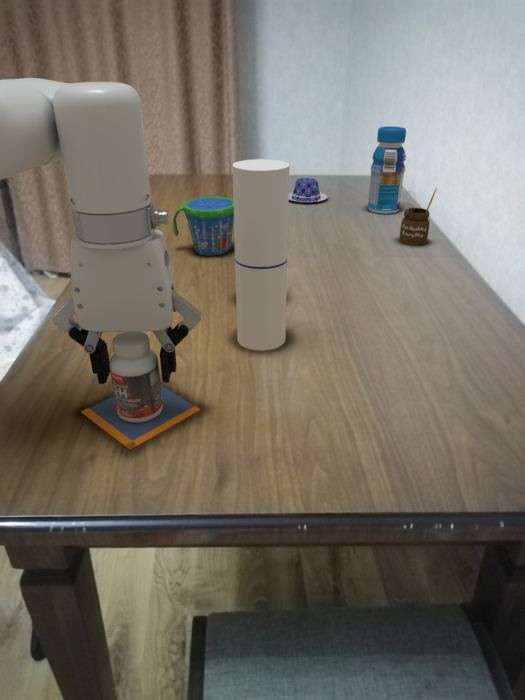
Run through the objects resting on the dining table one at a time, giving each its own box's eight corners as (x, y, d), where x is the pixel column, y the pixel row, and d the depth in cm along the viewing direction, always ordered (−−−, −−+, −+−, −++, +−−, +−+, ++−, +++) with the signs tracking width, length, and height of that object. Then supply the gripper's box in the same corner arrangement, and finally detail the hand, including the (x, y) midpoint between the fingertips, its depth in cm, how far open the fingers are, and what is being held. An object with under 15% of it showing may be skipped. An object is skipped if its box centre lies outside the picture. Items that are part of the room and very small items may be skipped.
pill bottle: (111, 423, 62) (98, 349, 57) (125, 396, 66) (114, 326, 62) (157, 425, 61) (147, 351, 57) (168, 398, 66) (160, 328, 61)
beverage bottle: (360, 209, 141) (367, 128, 131) (380, 204, 146) (388, 124, 136) (386, 216, 136) (396, 131, 126) (406, 210, 140) (417, 128, 130)
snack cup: (169, 258, 110) (164, 208, 105) (183, 241, 119) (179, 195, 114) (244, 262, 108) (243, 211, 103) (253, 245, 117) (252, 197, 112)
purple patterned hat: (306, 207, 143) (307, 187, 141) (275, 198, 151) (275, 179, 148) (336, 199, 150) (337, 180, 148) (305, 191, 158) (305, 173, 155)
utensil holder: (400, 236, 121) (407, 182, 115) (429, 239, 120) (437, 184, 114) (397, 245, 117) (404, 188, 111) (426, 248, 115) (435, 191, 109)
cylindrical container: (230, 347, 78) (224, 168, 65) (246, 325, 84) (243, 157, 71) (278, 354, 76) (280, 172, 63) (290, 331, 82) (295, 160, 69)
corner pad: (81, 413, 64) (81, 411, 64) (150, 380, 70) (149, 377, 70) (130, 452, 58) (130, 449, 58) (200, 411, 64) (200, 409, 64)
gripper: (205, 211, 56) (213, 359, 65) (38, 213, 56) (69, 361, 65) (200, 234, 50) (210, 394, 59) (10, 236, 49) (49, 397, 58)
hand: (136, 375), depth 61 cm, fingers open, 6 cm apart
